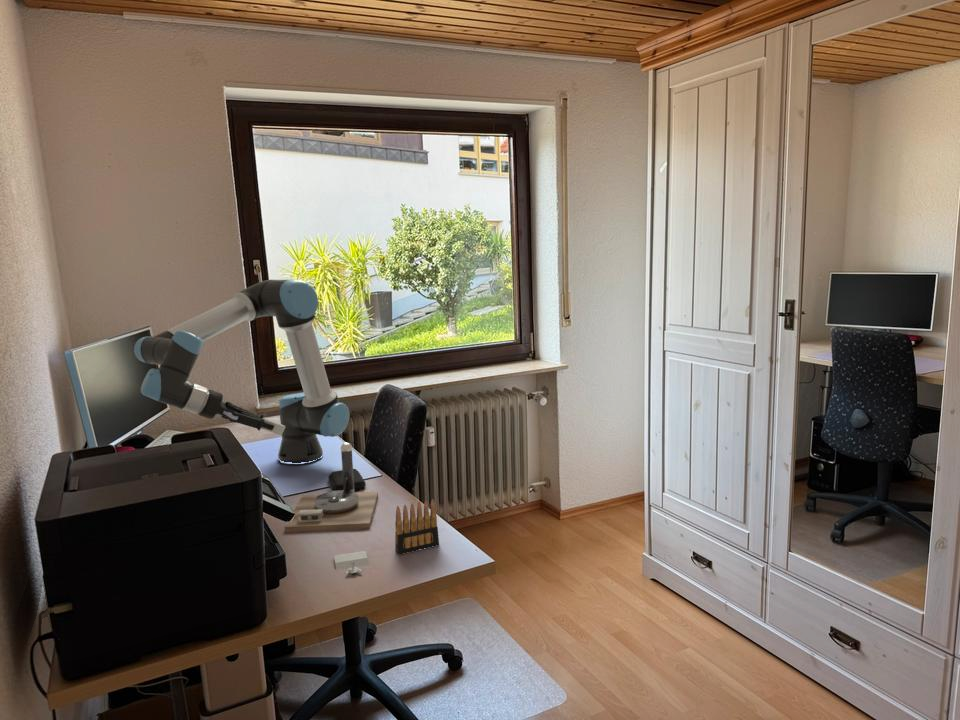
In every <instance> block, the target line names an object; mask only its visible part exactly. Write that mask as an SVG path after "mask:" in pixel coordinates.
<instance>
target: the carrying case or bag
mask: <svg viewBox="0 0 960 720" xmlns="http://www.w3.org/2000/svg"><path fill="white" fill-rule="evenodd" d="M353 476H354V491H361V490H363V489H365V487H366V486H367V484H366V481H365V479H364V478H363V476H362V475H361V473H360V472H359V471H358V469H356V468H353ZM328 480H329V482H330V484H329V489H331V490H332V491H338V490H344V486H343V471H342V469H341V470H335V471H331V473H330V474H329V475H328Z"/></svg>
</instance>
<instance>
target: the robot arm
mask: <svg viewBox="0 0 960 720" xmlns="http://www.w3.org/2000/svg"><path fill="white" fill-rule="evenodd" d="M318 306H319V297H318V294H317V292H316V290H315V288H314V287H313V286H312V285H311V284H310V283H309V282H306V281H303V280H301V279H300V280H299V279H292V278H291V279H267V280H263V281H259V282H257V283H255V284H253V285H250V286H248V287H245V288H244V289H242V290H240V291H238V292H236V293H235V294H233V296H232V298H231V299H229V300H226V301H225V302H222V303H221V304H219V305H217V306H214V307H213V308H211V309H209V310H207V311H205V312H202V313H200V314H198V315H196V316H194V317H192V318H190V319H188V320H186V321H184V322H181V323H179V324H178V325H175V326H173V327H171V328H169V329H167V330H165V331H163V332H161V333H158V334H156V335H151V336H149V335H148V336H143V337H140V338H139V339H138V340H137V341H136V342H135V344H134V346H133V347H134V348H133V352H134V355H135V357H136V359H137V360H138V361H140V362H143V363H144V364H149V365H158V366H159V367H158V368H150V369H149V370H148V372H147V373H146V374H145V377H143V378H144V379H143V381H142V382H141V383H142V384H141V387H140V393H141V394H142V395H143V396H145V397H147V398H149V399H152V400H155V401H157V402H159V403H163V404H166V405H169V406H172V407H174V408H177V409H180V410H184V411H183V412H184V413H186V414H188V412H190V413H192V414H194V415H196V414H198V416H200V417H202V418H205V419H210V420H212V419H214V418H215V416H216V415H219V416H220V417H221V418H222V419H225V420H228V421H229V422H231V423H237V424H240V425H244V426H246V427H249V428H254V429H257V431H261V429H263V430H265V431H268V432H270V433H273V434H276V435H279V436H281V442H280V446H279V449H278V454H277V455H278V456H277V457H278V458H279V459H280V460H281V461H284V462H292V463H301V462H309V461H313V460H316V459H318V458H320V457H321V456H322V455H323V454H324V453H323V448H322V446H321V444H320V441H319V438H318V436H319V435H320V436H323V437H328V438H329V437H330V438H331V437H332V438H333V437H338V436H339V435H341V434H343V432H344V431H345V430H346V429H347V426H348V424H349V422H350V421H349V420H350V409H349V407H348V406H347V405H346V404H344V402H340V401H339V398H338V397H339V396H338V393H337V392H336V391H335V390H333V389H331V386H330V382H329V379H328V375H327V372H326V368H325V364H324V361H323V358H322V353H321V350H320V347H319V344H318V341H317V339H318V338H317V336H316V333H315V330H314V326H313V323H314V321H315V319H316V315H315V314H316V312H317V310H318ZM261 317H262V318H263V317H275V319H276V322H277V325H278V328H280V329H282V330H283V331H284V332H285V334H286V338H287V340H288V343H289V344H288V345H289V347H290V352H291V354H292V358H293V361H294V365H295V369H296V371H297V373H298V374H297V375H298V377H299V378H298V379H299V380H300V384H301V387H302V390H303V392H298V393H293V394H289V395H288V394H287V395H285V396H282V397H281V398H280V399H279V402H278V405H279V407H278V410H279V419H280V420H279V421H280V423H278V422H276V421H273V420H271V419H268V418H265V417H264V416H265V415H264V414H262V413H261V414H258V413H256V412H253V411H251V410H248V409H245V408H243V407H242V406H239V405H236V404H233V403H232V402H230V401H228V400H227V401H225V402H224V401H223V397H224V396H223V394H222V393H221V392H218V391H215V390H213V389H208V387H206V386H203V385H200V384H197V383H194V382H192V381H189V380H188V379H189V377H190V376H191V375H190V374H191V372H192V370H193V368H194V366H195V364H196V361H197V359H198V357H199V356H200V352H201V349H202V346H203V344H204V343H203V342H205V341H208V340H209V339H211V338H213V337H215V336H217V335H219V334H221V333H223V332H225V331H227V330H229V329H231V328H233V327H234V326H237V325H239V324H240V323H242V322H244V321H246V322H251V321H254V320H256V319H258V318H261ZM317 435H318V436H317ZM323 456H324V455H323Z"/></svg>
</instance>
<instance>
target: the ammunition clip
mask: <svg viewBox="0 0 960 720" xmlns="http://www.w3.org/2000/svg"><path fill="white" fill-rule="evenodd" d="M402 508H403V509H402V513H401V509H400V506H399V505H397V506H396V510H395V523H394V524H395V536H394V539H395V540H394V541H395V543H394V544H395V548H394V549H395V550H394V551H395V554H396V553H397V554H396V555H397V556H400V555H399V554H401V555H404V554H403V553H406V554H408V553H407V552H410V553H413V552H412V551H415V552H417V551H416V550H419V549H423V550H425V549H424V548H428V547H432V546H436V545H439V546H440V538H439V528H438V519H437V511H436V510H437V509H436V503H435V501H434V498H432V499H431V503H430V508H429V503H428V501H427V500H425V501H424V504H423V508H422V505H421V502H420V501H418V502H417V505H416V508H415V505H414V503H413V502H411V504H410V507H409V509H410V510H409V511H408V508H407V505H406V504H404V505H403V507H402ZM415 509H416V510H415ZM432 548H433V547H432ZM428 549H429V548H428ZM419 551H420V550H419Z"/></svg>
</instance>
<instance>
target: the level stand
mask: <svg viewBox="0 0 960 720" xmlns="http://www.w3.org/2000/svg"><path fill="white" fill-rule="evenodd" d="M355 493H356V494H357V495H358V502H359V504H358V506H357V507H356V508H354V509H352V510H350V511H347V512H343V513H338V514H325V513H323V509H319V510H315V504H314V500H315V498H316V497H317V496H319V495H321V494H322V493H320V494H319V493H317V494H315V493H314V494H302V496H301V497H300V499H299V501H298V502H297V504H296V506H295V508H294V510H293V511H294V513H295V516H294V518H293V520H292V521H291V522H288V521H287V522H286V524H285V525H284V533H300V532H301V533H302V532H320V531H321V532H323V531H340V530H347V531H348V530H362V529H366V530H367V529H368V530H369V529H371V526H372V522H373V519H374V514H375V510H376V507H377V504H378V503H377V502H378V498H379V491H365V492H364V491H361V492H355Z"/></svg>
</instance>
